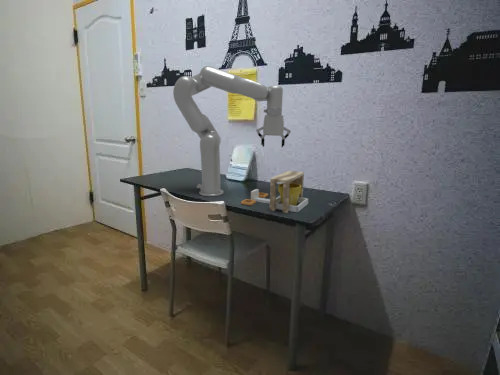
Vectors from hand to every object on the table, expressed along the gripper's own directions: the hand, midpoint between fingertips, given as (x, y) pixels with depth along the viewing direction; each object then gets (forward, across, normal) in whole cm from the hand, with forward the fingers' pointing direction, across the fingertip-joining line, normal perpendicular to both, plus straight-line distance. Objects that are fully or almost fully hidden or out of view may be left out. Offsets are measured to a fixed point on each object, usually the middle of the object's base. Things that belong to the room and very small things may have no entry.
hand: (272, 146), depth 152 cm
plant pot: (+25, +9, -20) cm, 33 cm away
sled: (+25, +4, -18) cm, 31 cm away
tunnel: (+24, +8, -20) cm, 33 cm away
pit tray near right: (+25, -10, -20) cm, 34 cm away
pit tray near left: (+25, -4, -7) cm, 26 cm away
